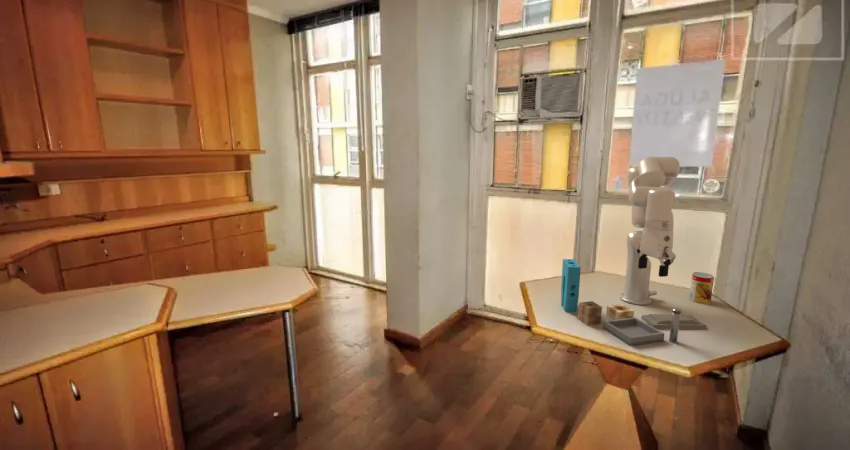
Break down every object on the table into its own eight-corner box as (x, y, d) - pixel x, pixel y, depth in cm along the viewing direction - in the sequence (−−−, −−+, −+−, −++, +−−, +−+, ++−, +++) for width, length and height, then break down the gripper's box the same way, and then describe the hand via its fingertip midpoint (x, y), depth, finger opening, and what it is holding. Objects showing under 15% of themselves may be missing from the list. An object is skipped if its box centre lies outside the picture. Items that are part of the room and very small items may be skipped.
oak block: (620, 313, 165) (621, 304, 164) (633, 320, 158) (634, 310, 157) (606, 314, 163) (606, 305, 162) (618, 322, 156) (619, 312, 156)
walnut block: (591, 317, 161) (592, 301, 160) (600, 323, 155) (602, 306, 154) (578, 319, 159) (579, 302, 158) (587, 325, 154) (588, 308, 152)
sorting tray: (634, 324, 154) (635, 317, 154) (663, 341, 141) (664, 333, 140) (603, 328, 151) (603, 321, 150) (630, 346, 138) (630, 338, 137)
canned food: (714, 304, 173) (718, 277, 171) (695, 303, 174) (698, 277, 172) (704, 297, 181) (707, 272, 178) (685, 296, 182) (689, 271, 179)
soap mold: (707, 331, 149) (708, 322, 149) (653, 330, 150) (654, 322, 149) (690, 319, 160) (691, 311, 159) (640, 319, 160) (640, 311, 160)
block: (578, 313, 164) (581, 267, 161) (565, 313, 165) (568, 267, 161) (571, 302, 176) (574, 259, 172) (559, 302, 177) (562, 259, 173)
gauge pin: (672, 339, 142) (676, 307, 140) (678, 342, 140) (682, 310, 137) (667, 340, 141) (670, 308, 139) (673, 343, 139) (676, 311, 137)
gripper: (687, 228, 130) (681, 278, 133) (648, 220, 147) (643, 264, 150) (667, 230, 129) (662, 280, 132) (630, 221, 145) (626, 266, 148)
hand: (652, 272), depth 141 cm, fingers open, 9 cm apart
